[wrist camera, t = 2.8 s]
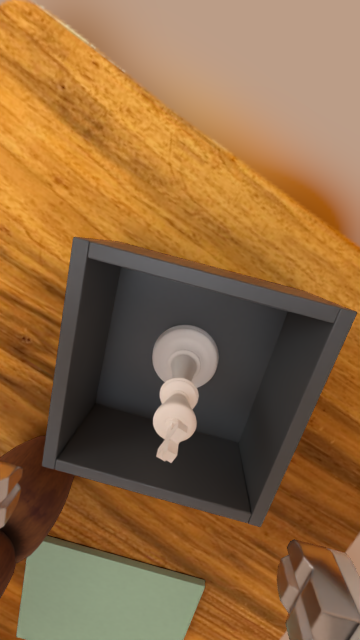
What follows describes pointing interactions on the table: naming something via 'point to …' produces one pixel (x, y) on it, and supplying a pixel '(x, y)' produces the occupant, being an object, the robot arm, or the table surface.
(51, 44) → the table surface
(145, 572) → the mat
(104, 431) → the tub
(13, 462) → the wooden figurine
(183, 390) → the chess piece
